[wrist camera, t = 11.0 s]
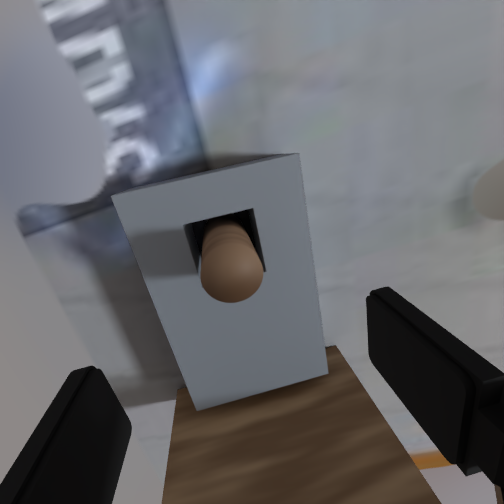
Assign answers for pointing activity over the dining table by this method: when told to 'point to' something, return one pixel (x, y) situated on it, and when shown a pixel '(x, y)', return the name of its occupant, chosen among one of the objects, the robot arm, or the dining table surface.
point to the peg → (229, 260)
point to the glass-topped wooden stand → (292, 448)
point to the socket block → (240, 313)
